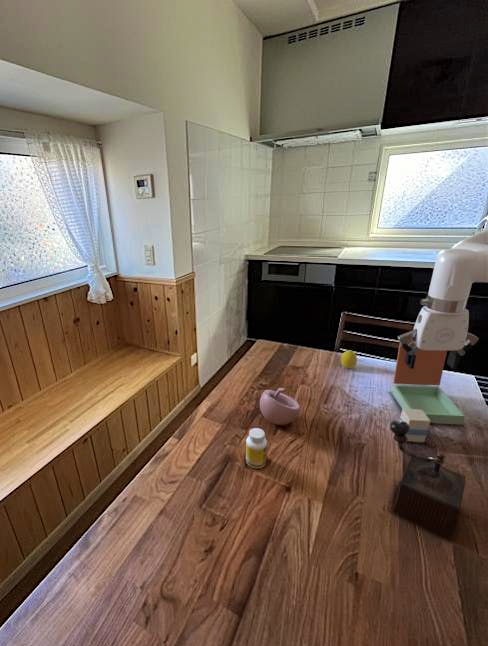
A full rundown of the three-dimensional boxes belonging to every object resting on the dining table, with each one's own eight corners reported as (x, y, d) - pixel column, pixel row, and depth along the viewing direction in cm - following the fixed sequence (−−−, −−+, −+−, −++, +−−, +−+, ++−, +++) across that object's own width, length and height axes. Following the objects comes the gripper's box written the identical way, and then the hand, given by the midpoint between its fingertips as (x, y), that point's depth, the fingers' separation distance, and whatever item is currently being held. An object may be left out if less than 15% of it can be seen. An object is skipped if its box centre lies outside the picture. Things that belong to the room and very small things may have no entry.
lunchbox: (461, 426, 98) (465, 416, 96) (409, 423, 100) (412, 413, 99) (435, 395, 112) (438, 386, 110) (391, 393, 114) (393, 384, 113)
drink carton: (416, 432, 97) (422, 409, 94) (424, 444, 92) (430, 421, 89) (396, 430, 98) (402, 408, 95) (403, 443, 93) (409, 420, 90)
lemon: (341, 371, 129) (343, 353, 125) (338, 364, 134) (341, 346, 130) (356, 372, 127) (359, 354, 124) (353, 365, 132) (356, 347, 129)
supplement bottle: (266, 470, 88) (267, 441, 84) (245, 468, 89) (245, 439, 85) (266, 455, 93) (267, 426, 89) (246, 453, 94) (246, 425, 90)
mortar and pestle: (307, 424, 103) (310, 393, 98) (275, 438, 98) (277, 406, 94) (281, 404, 113) (282, 375, 108) (251, 416, 108) (252, 386, 104)
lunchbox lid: (450, 338, 104) (448, 337, 105) (401, 337, 107) (400, 336, 107) (439, 385, 109) (438, 384, 110) (393, 383, 112) (393, 382, 113)
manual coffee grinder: (456, 504, 75) (479, 442, 68) (449, 541, 68) (474, 477, 61) (380, 471, 85) (393, 414, 78) (367, 500, 78) (380, 440, 70)
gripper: (411, 309, 77) (398, 373, 84) (498, 308, 74) (477, 374, 81) (399, 299, 84) (387, 359, 91) (478, 297, 81) (460, 359, 88)
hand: (430, 366), depth 86 cm, fingers open, 9 cm apart
